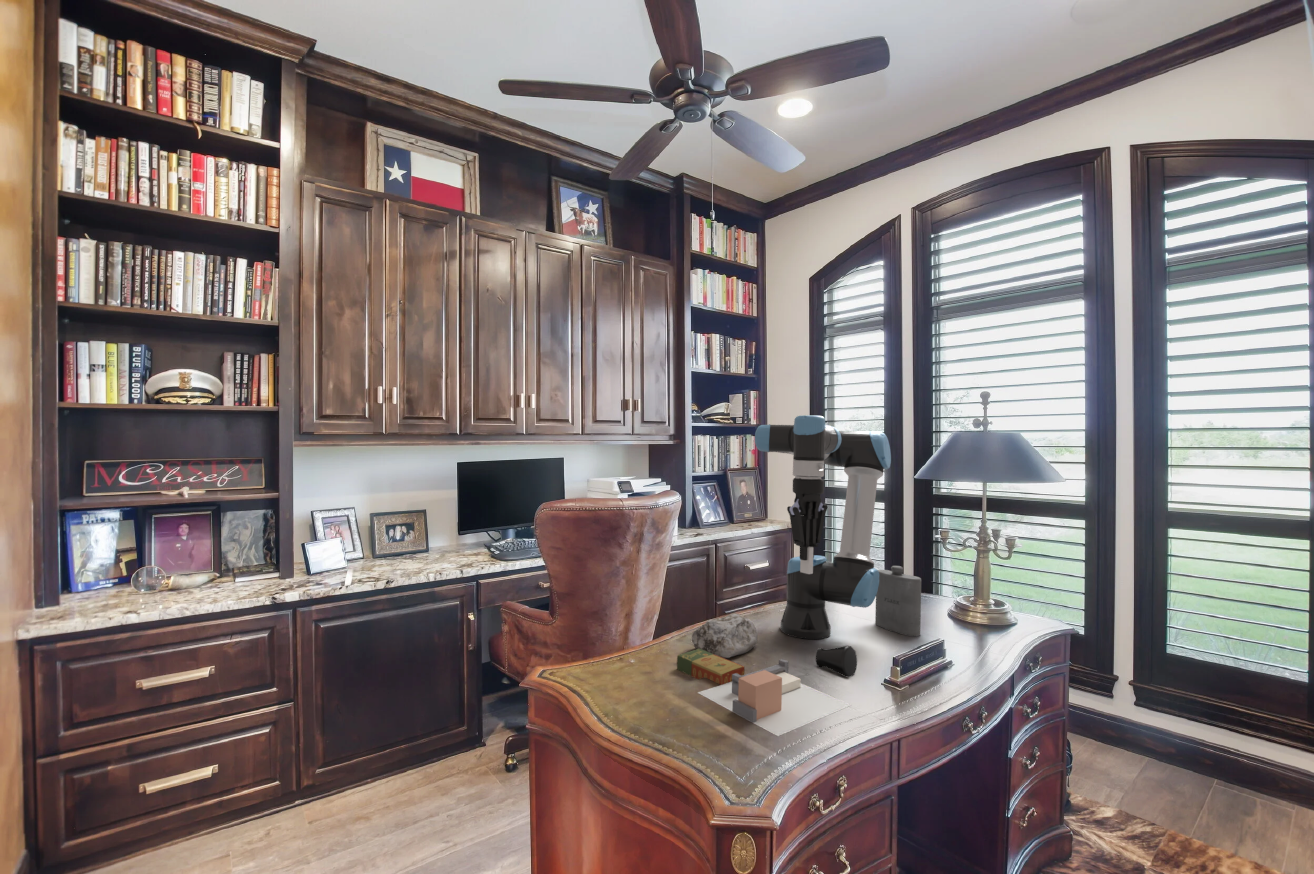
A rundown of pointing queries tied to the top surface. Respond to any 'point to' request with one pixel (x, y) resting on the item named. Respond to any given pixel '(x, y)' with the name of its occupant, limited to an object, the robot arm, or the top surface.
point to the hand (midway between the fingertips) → (806, 572)
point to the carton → (708, 666)
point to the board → (795, 708)
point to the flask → (898, 602)
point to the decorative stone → (726, 636)
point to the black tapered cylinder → (838, 660)
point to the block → (761, 692)
